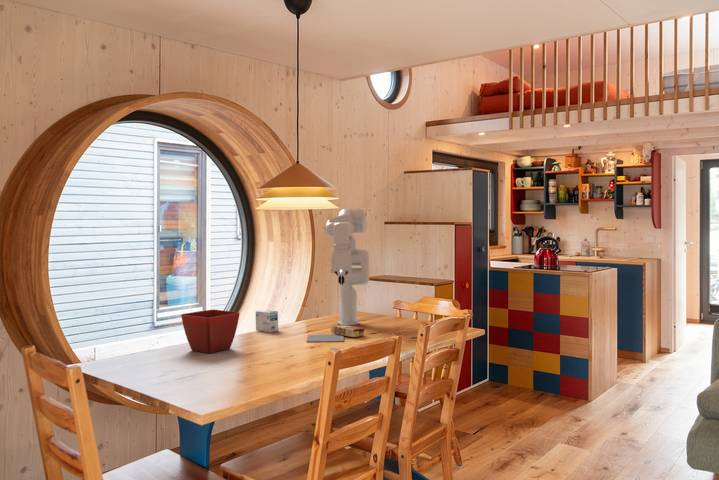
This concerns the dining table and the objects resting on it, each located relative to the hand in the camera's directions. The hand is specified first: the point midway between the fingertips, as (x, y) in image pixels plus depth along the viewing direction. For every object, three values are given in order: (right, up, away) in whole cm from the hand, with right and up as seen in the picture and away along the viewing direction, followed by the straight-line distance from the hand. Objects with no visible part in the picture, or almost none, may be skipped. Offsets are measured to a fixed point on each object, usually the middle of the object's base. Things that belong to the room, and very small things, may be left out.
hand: (341, 284), depth 293 cm
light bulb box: (-41, -27, +23) cm, 54 cm away
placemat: (-8, -27, 0) cm, 28 cm away
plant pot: (-59, -29, -22) cm, 69 cm away
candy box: (+9, -24, +4) cm, 26 cm away
